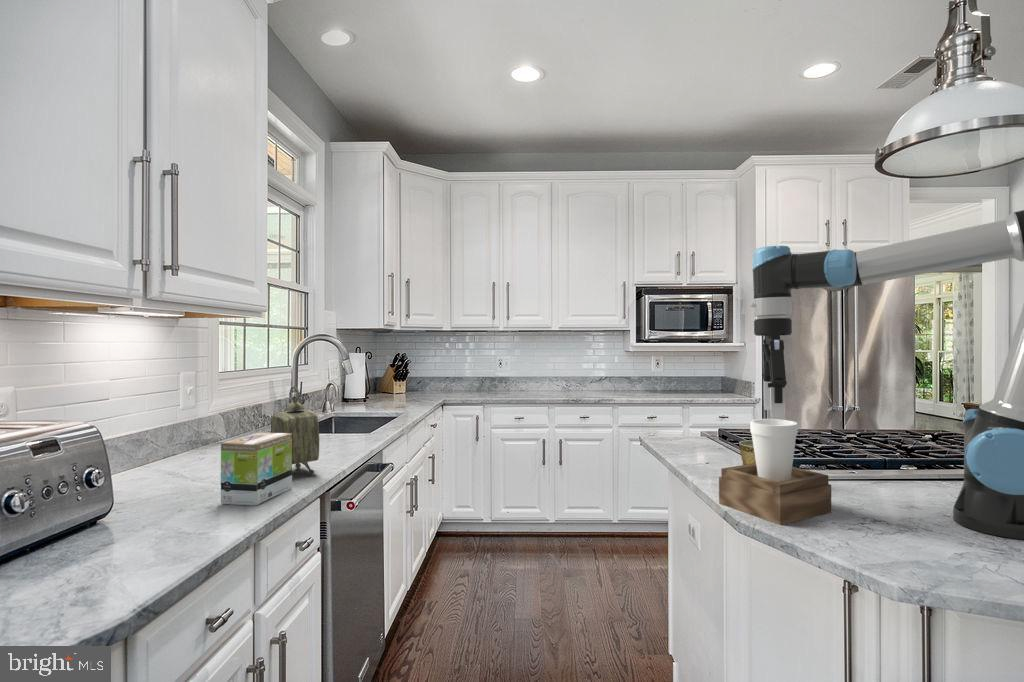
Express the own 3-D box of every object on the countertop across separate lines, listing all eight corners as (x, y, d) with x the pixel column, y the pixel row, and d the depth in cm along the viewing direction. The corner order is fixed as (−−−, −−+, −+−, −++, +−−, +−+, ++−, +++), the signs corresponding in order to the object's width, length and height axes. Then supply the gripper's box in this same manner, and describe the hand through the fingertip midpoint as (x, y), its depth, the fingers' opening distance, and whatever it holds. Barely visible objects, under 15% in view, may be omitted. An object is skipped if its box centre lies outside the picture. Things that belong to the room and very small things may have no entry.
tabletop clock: (320, 475, 157) (318, 387, 156) (287, 481, 151) (285, 389, 151) (301, 466, 168) (300, 383, 167) (270, 471, 162) (268, 386, 162)
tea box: (258, 506, 130) (257, 443, 130) (219, 505, 131) (218, 442, 131) (293, 488, 145) (292, 431, 144) (258, 487, 146) (257, 431, 146)
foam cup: (741, 478, 126) (740, 421, 125) (772, 473, 129) (771, 417, 129) (776, 489, 117) (775, 427, 117) (808, 483, 120) (807, 423, 120)
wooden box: (831, 512, 120) (831, 475, 120) (780, 524, 113) (780, 485, 113) (768, 493, 134) (767, 460, 134) (719, 503, 127) (718, 468, 127)
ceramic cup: (768, 490, 137) (768, 449, 137) (731, 481, 145) (731, 443, 145) (795, 481, 145) (795, 442, 144) (758, 473, 153) (758, 437, 152)
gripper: (749, 319, 136) (751, 406, 136) (759, 316, 112) (761, 422, 112) (783, 318, 133) (785, 406, 133) (800, 315, 110) (802, 423, 110)
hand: (774, 414), depth 123 cm, fingers open, 13 cm apart
